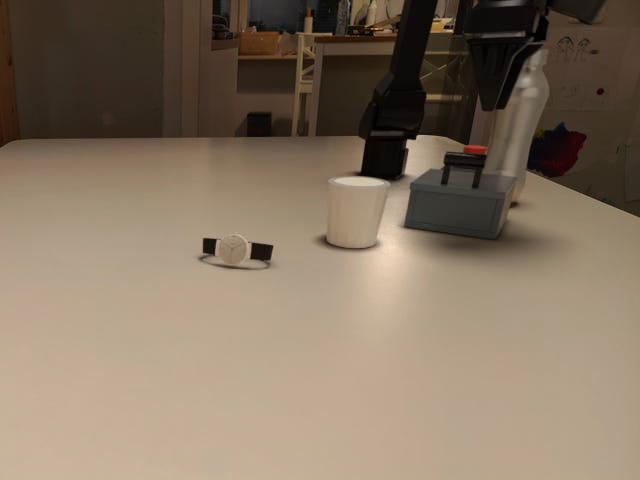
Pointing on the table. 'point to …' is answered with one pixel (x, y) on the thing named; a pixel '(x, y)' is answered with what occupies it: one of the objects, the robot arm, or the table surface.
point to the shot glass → (355, 210)
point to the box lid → (465, 178)
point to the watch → (236, 249)
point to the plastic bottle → (518, 124)
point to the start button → (475, 149)
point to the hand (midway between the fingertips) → (494, 110)
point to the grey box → (457, 213)
